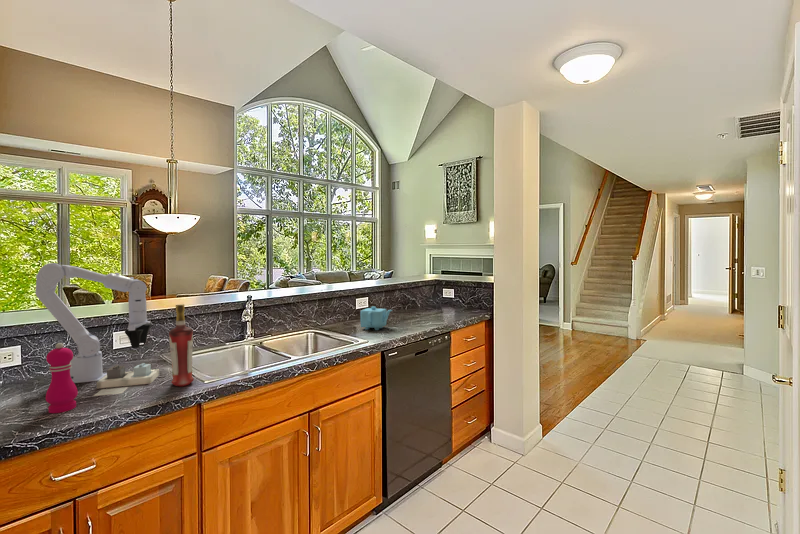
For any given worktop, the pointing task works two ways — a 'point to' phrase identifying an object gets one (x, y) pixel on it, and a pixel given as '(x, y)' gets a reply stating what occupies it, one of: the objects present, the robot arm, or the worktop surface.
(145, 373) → the plug
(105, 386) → the white tray
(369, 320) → the teapot
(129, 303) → the robot arm
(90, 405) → the worktop surface
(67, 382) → the pepper mill
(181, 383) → the liquor
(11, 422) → the worktop surface
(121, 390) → the mat
